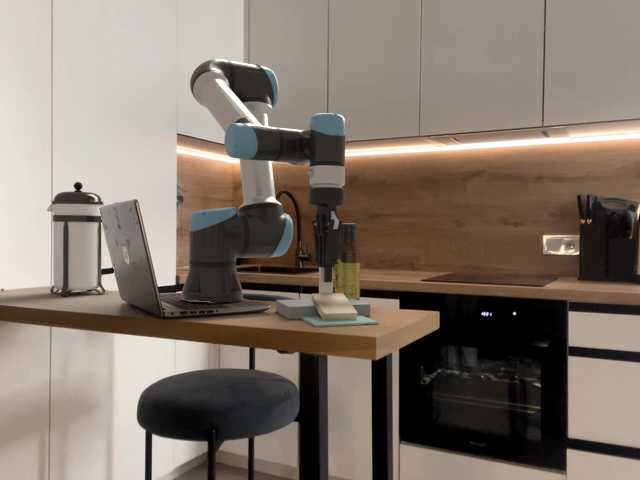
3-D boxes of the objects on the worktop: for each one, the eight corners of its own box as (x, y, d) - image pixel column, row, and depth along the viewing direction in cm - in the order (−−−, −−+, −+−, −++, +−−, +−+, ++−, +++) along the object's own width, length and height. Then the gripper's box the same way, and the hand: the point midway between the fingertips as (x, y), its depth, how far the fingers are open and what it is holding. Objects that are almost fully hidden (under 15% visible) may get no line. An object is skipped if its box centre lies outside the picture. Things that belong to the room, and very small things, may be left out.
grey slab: (276, 311, 130) (276, 300, 130) (351, 308, 136) (351, 297, 136) (289, 319, 120) (289, 306, 120) (370, 315, 125) (370, 304, 125)
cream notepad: (311, 300, 124) (311, 293, 123) (342, 299, 126) (342, 292, 125) (323, 320, 116) (324, 313, 115) (356, 319, 118) (357, 312, 118)
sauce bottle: (338, 301, 148) (339, 223, 148) (362, 303, 146) (363, 223, 146) (331, 304, 142) (332, 223, 141) (356, 306, 140) (357, 223, 139)
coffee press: (91, 298, 148) (91, 179, 148) (34, 296, 151) (34, 179, 151) (125, 290, 166) (126, 184, 165) (74, 288, 168) (74, 184, 168)
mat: (300, 318, 120) (300, 316, 120) (359, 316, 125) (359, 314, 125) (315, 326, 111) (315, 324, 111) (378, 324, 115) (378, 322, 115)
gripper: (301, 188, 130) (300, 294, 131) (319, 184, 118) (318, 301, 118) (333, 189, 133) (332, 293, 133) (354, 185, 120) (353, 300, 121)
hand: (325, 297), depth 126 cm, fingers closed
